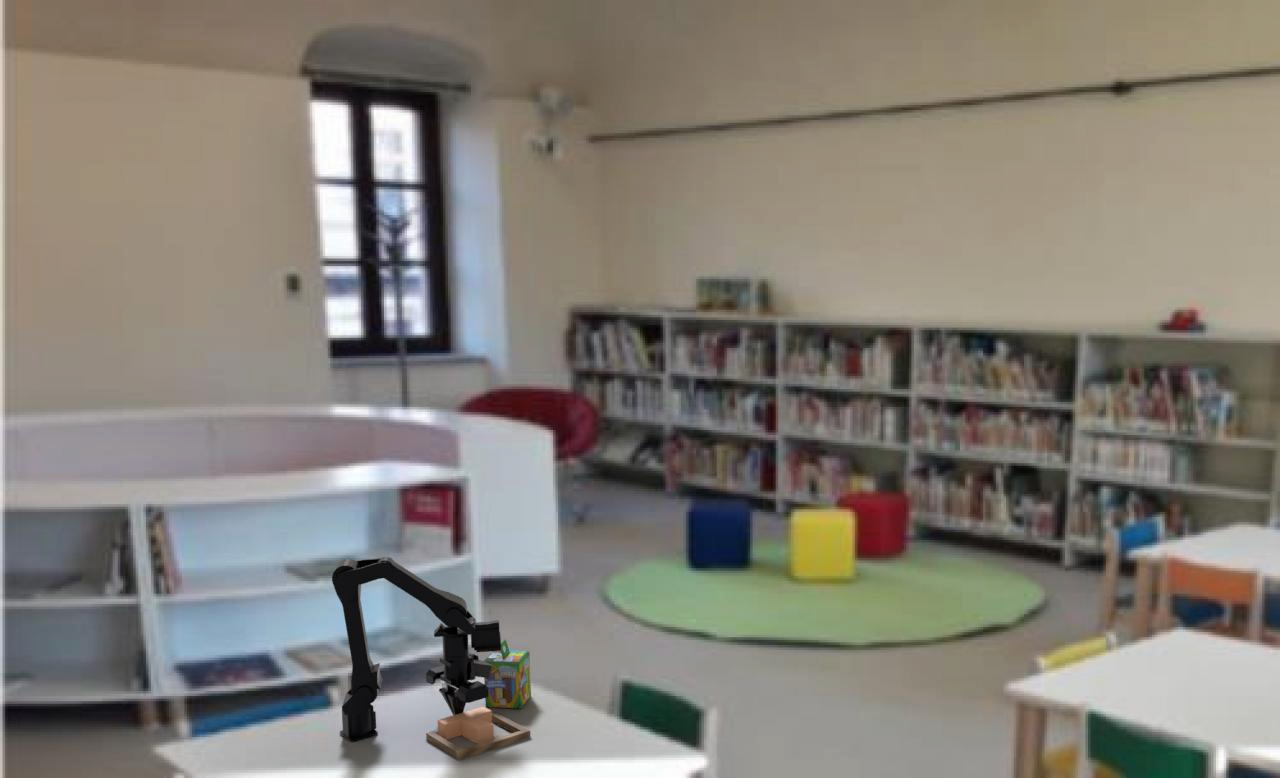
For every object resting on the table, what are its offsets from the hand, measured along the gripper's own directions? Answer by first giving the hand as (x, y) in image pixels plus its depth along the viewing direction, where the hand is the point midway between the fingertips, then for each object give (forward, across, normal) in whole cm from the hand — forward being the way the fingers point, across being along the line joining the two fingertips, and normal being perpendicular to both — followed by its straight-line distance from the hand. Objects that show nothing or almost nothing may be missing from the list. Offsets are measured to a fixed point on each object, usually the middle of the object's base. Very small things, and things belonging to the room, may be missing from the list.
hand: (458, 719), depth 256 cm
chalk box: (+2, +5, -17) cm, 18 cm away
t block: (+2, -6, 0) cm, 6 cm away
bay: (+2, -9, 0) cm, 9 cm away
